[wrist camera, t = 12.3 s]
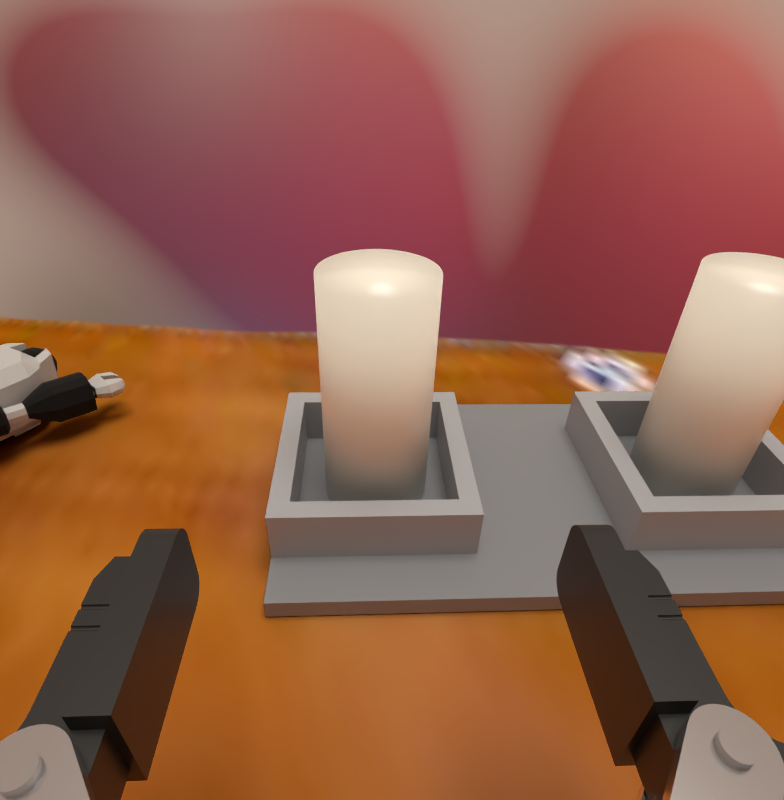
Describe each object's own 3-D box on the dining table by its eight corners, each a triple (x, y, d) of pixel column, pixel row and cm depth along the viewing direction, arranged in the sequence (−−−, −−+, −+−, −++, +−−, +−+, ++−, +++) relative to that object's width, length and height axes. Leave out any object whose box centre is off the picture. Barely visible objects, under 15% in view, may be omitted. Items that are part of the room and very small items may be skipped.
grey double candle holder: (690, 415, 31) (772, 222, 24) (844, 602, 21) (1047, 361, 15) (297, 417, 29) (279, 216, 23) (265, 616, 20) (219, 362, 13)
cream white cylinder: (420, 451, 26) (435, 249, 20) (429, 520, 23) (451, 299, 17) (328, 452, 26) (317, 248, 20) (323, 522, 22) (308, 298, 17)
